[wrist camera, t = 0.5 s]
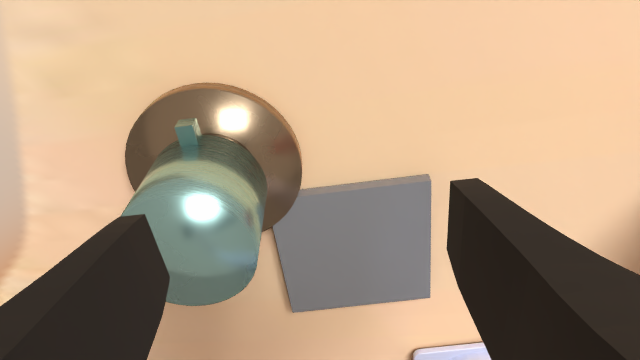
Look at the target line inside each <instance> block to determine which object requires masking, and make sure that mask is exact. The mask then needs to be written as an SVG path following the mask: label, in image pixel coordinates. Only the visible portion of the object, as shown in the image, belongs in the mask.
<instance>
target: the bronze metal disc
mask: <svg viewBox="0 0 640 360" xmlns="http://www.w3.org/2000/svg"><path fill="white" fill-rule="evenodd" d="M190 118H197V122H198V125H199V128H200V132H201V135H212V136H218V137H222V138H225V139H228V140H230V141H233V142H235V143H237V144H238V145H240V146H242V147H243V148H245V149H246V150H247V151H248V152H249V153H251V154H252V155H253V156H254V158H255V159H256V160H257V161H258V163H259V164H260V166H261V167H262V169H263V171H264V174H265V177H266V181H267V198H266V204H265V211H264V218H263V225H262V232H263V231H265V230H267V229H268V228H270V227H272V226H273V225H275V224H276V223H277V222H279V221H280V220H281V219H282V218H283V217H284V216H285V215H286V214H287V213H288V211H289V210H290V209H291V207H292V206H293V204H294V202H295V200H296V198H297V195H298V193H299V190H300V185H301V177H302V158H301V152H300V147H299V144H298V141H297V139H296V136H295V134H294V132H293V131H292V129H291V127H290V125H289V124H288V123H287V121H286V120H285V119H284V117H283V116H282V115H281V114H280V113H279V112H278V111H277V110H276V109H275V108H274V107H272V106H271V105H270V104H269V103H267V102H266V101H265V100H263V99H261V98H260V97H258V96H256V95H255V94H252V93H250V92H248V91H246V90H243V89H240V88H237V87H234V86H230V85H225V84H219V83H197V84H190V85H185V86H182V87H179V88H176V89H173V90H171V91H169V92H167V93H165V94H163V95H161V96H160V97H159V98H157V99H156V100H155V101H153V102H152V103H151V104H150V105H149V106H148V107H147V108H146V109H145V111H144V112H143V113H142V114H141V115H140V117H139V118H138V120H137V121H136V122H135V124H134V125H133V127H132V129H131V131H130V133H129V137H128V140H127V143H126V151H125V163H126V169H127V174H128V177H129V180H130V182H131V185H132V187H133V189H134V191H135V192H136V191H137V189H138V187H139V186H140V184H141V183H142V181H143V179H144V178H145V176H146V174H147V173H148V171H149V170H150V168H151V166H152V165H153V163H154V161H155V160H156V158H157V157H158V155H159V154H160V153H161V151H162V150H163V149H165V148H166V147H167V146H168V145H170V144H171V143H173V142H175V141H177V140H178V137H177V134H176V131H175V128H174V127H175V125H176V124H177V122H178V121H179V120H182V119H190Z"/></svg>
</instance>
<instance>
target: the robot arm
mask: <svg viewBox="0 0 640 360" xmlns="http://www.w3.org/2000/svg"><path fill="white" fill-rule="evenodd" d="M447 251H448V255H449V258H450V262H451V265H452V269H453V272H454V275H455V278H456V281H457V284H458V287H459V290H460V292H461V294H462V296H463V299H464V301H465V303H466V305H467V308H468V310H469V312H470V314H471V316H472V319H473V321H474V323H475V325H476V327H477V330H478V332H479V334H480V336H481V338H482V340H483V342H482V343H472V344H462V345H453V346H443V347H433V348H424V349H418V350H416V351H415V352H414V353H413V360H640V275H638V274H636V273H634V272H632V271H630V270H628V269H626V268H624V267H622V266H620V265H617V264H615V263H614V262H612V261H610V260H608V259H606V258H604V257H602V256H600V255H598V254H597V253H595V252H593V251H591V250H589V249H588V248H586V247H584V246H583V245H581V244H579V243H577V242H576V241H574V240H572V239H570V238H569V237H567V236H565V235H564V234H562V233H560V232H559V231H557V230H555V229H554V228H552V227H550V226H549V225H547V224H546V223H544V222H543V221H541V220H539V219H538V218H536V217H535V216H533V215H532V214H530V213H529V212H527V211H526V210H524V209H523V208H521V207H520V206H518V205H517V204H515V203H514V202H512V201H511V200H509V199H508V198H506V197H505V196H504V195H502V194H501V193H499V192H498V191H496V190H495V189H493V188H492V187H490V186H489V185H487V184H486V183H484V182H483V181H481V180H479V179H478V178H474V179H465V180H455V181H450V198H449V217H448V236H447ZM169 281H170V275H169V273H168V270H167V268H166V265H165V263H164V260H163V258H162V255H161V253H160V250H159V248H158V245H157V243H156V240H155V238H154V235H153V233H152V230H151V228H150V225H149V223H148V220H147V218H146V215H145V214H140V215H130V216H121V217H119V218H117V219H116V220H114V221H112V222H111V223H110V224H108V225H107V226H105V227H104V228H103V229H101V230H100V231H99V232H97V233H96V234H95V235H94V236H92V237H91V238H90V239H88V240H87V241H86V242H85V243H83V244H82V245H81V246H80V247H78V248H77V249H76V250H74V251H73V252H72V253H71V254H69V255H68V256H67V257H66V258H64V259H63V260H62V261H60V262H59V263H58V264H57V265H55V266H54V267H53V268H51V269H50V270H49V271H48V272H46V273H45V274H44V275H42V276H41V277H40V278H38V279H37V280H36V281H34V282H33V283H32V284H30V285H29V286H28V287H26V288H25V289H23V290H22V291H21V292H19V293H18V294H17V295H15V296H14V297H13V298H11V299H10V300H9V301H7V302H6V303H4V304H3V305H2V306H0V360H147V357H148V354H149V352H150V349H151V346H152V343H153V341H154V338H155V335H156V332H157V329H158V327H159V324H160V321H161V318H162V314H163V310H164V306H165V302H166V297H167V292H168V287H169Z"/></svg>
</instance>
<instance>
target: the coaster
mask: <svg viewBox="0 0 640 360" xmlns="http://www.w3.org/2000/svg"><path fill="white" fill-rule="evenodd" d="M273 231H274V235H275V239H276V244H277V248H278V252H279V256H280V261H281V265H282V269H283V273H284V278H285V282H286V286H287V290H288V295H289V299H290V303H291V308H292V312H293V313H294V312H304V311H313V310H322V309H331V308H340V307H350V306H359V305H368V304H377V303H386V302H396V301H405V300H414V299H423V298H430V259H431V179H430V177H429V175H428V174H425V175H417V176H409V177H401V178H393V179H384V180H376V181H368V182H360V183H351V184H343V185H335V186H327V187H319V188H310V189H302V190H299V193H298V195H297V198H296V200H295V202H294V204H293V206H292V207H291V209H290V210H289V211H288V213H287V214H286V215H285V216H284V217H283V218H282V219H281V220H280V221H279V222H277V223H276V224H275V225H273Z"/></svg>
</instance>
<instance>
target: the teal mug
mask: <svg viewBox="0 0 640 360" xmlns="http://www.w3.org/2000/svg"><path fill="white" fill-rule="evenodd" d="M174 128H175V131H176V134H177V137H178V140H177V141H175V142H173V143H171V144H170V145H168V146H167V147H166V148H165V149H163V150H162V151H161V153H160V154H159V155H158V157H157V158H156V160H155V161H154V163H153V165H152V166H151V168H150V170H149V171H148V173H147V174H146V176H145V178H144V179H143V181H142V183H141V184H140V186H139V187H138V189H137V191H136V192H135V194H134V195H133V197H132V199H131V200H130V202H129V204H128V205H127V207H126V208H125V210H124V212H123V213H122V215H121V216H130V215H140V214H145V215H146V218H147V220H148V223H149V225H150V228H151V230H152V233H153V235H154V238H155V240H156V243H157V245H158V248H159V250H160V253H161V255H162V258H163V260H164V263H165V265H166V268H167V270H168V273H169V275H170V281H169V287H168V292H167V297H166V302H169V303H173V304H178V305H186V306H201V305H210V304H215V303H218V302H222V301H224V300H227V299H229V298H231V297H233V296H235V295H236V294H238V293H239V292H241V291H242V290H243V289H244V288H245V287H246V286H247V285H248V283H249V282H250V281H251V279H252V277H253V276H254V273H255V270H256V266H257V260H258V253H259V246H260V239H261V232H262V225H263V218H264V211H265V204H266V198H267V181H266V177H265V174H264V171H263V169H262V167H261V166H260V164H259V163H258V161H257V160H256V159H255V158H254V156H253V155H252V154H251V153H249V152H248V151H247V150H246V149H245V148H243V147H242V146H240V145H238V144H237V143H235V142H233V141H230V140H228V139H225V138H222V137H218V136H212V135H201V132H200V128H199V125H198V122H197V118H190V119H182V120H179V121H178V122H177V124H176V125H175V127H174Z"/></svg>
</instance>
